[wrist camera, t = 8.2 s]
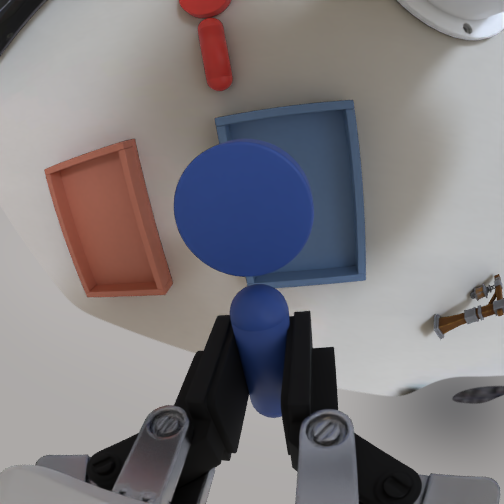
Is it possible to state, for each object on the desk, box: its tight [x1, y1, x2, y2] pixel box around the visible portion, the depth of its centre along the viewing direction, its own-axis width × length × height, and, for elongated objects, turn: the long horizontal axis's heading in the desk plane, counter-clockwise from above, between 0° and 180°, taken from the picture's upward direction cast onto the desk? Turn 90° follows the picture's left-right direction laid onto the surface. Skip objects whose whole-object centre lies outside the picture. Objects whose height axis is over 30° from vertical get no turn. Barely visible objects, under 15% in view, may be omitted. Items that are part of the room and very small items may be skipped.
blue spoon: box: [174, 139, 314, 418], centre depth 10 cm, size 10×4×2 cm, turn 9°
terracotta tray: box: [44, 139, 173, 297], centre depth 26 cm, size 13×9×2 cm
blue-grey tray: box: [215, 100, 366, 288], centre depth 22 cm, size 13×9×2 cm
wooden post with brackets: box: [434, 274, 504, 339], centre depth 23 cm, size 2×8×4 cm, turn 136°
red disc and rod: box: [179, 0, 233, 91], centre depth 18 cm, size 10×4×2 cm, turn 10°
